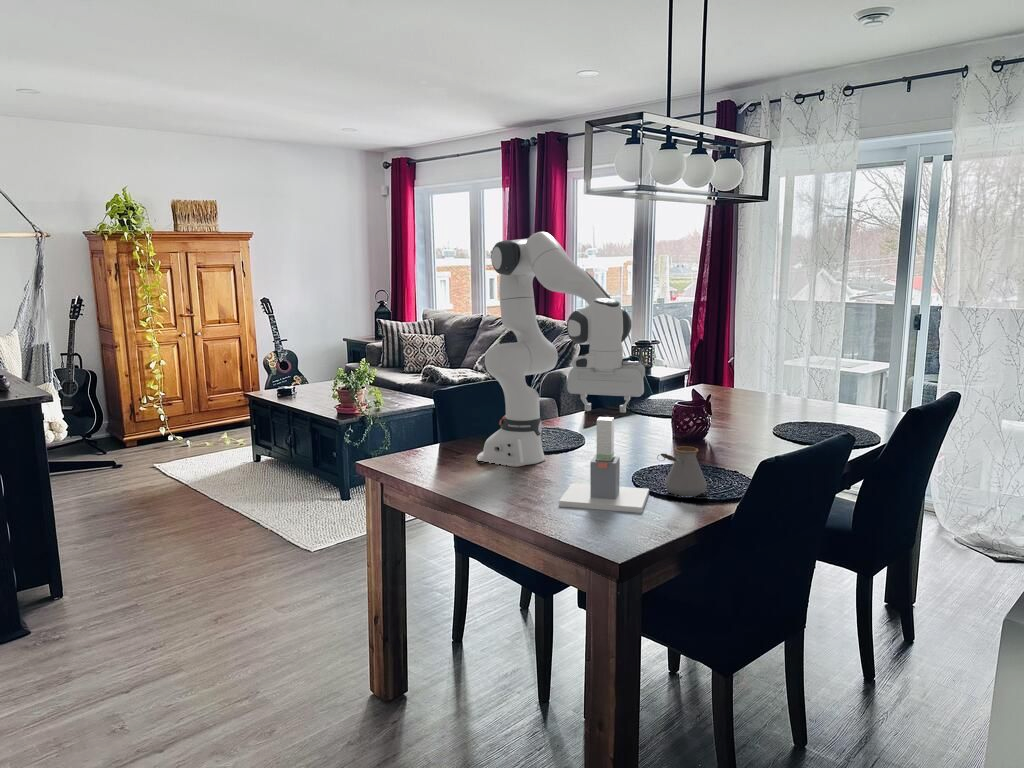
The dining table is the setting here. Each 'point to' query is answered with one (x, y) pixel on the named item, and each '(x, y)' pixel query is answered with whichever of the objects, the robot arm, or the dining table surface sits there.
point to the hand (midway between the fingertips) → (605, 411)
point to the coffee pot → (685, 473)
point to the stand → (605, 490)
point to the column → (605, 439)
